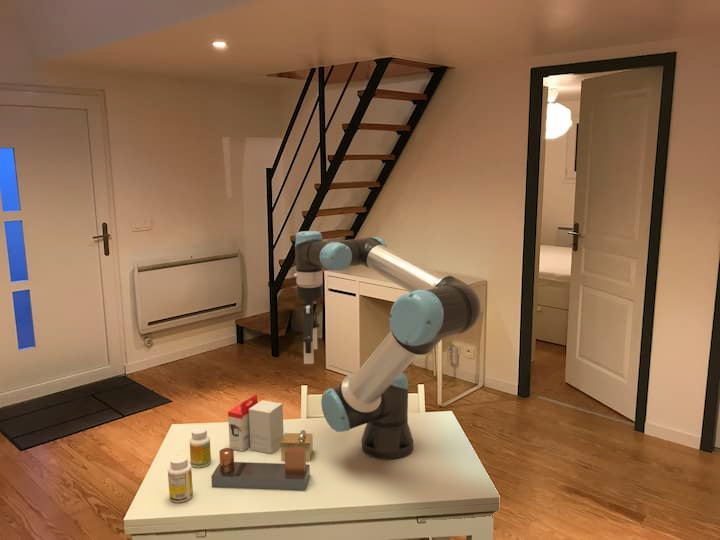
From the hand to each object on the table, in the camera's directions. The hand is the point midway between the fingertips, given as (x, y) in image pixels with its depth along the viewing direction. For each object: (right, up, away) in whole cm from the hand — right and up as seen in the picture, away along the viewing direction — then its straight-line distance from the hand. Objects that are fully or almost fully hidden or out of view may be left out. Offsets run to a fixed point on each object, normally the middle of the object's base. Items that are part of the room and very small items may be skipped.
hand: (311, 356), depth 173 cm
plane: (-11, -30, -20) cm, 37 cm away
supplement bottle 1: (-30, -31, -27) cm, 51 cm away
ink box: (-20, -26, 0) cm, 33 cm away
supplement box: (-13, -27, -1) cm, 29 cm away
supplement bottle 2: (-30, -28, -11) cm, 42 cm away
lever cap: (-3, -27, -7) cm, 28 cm away
